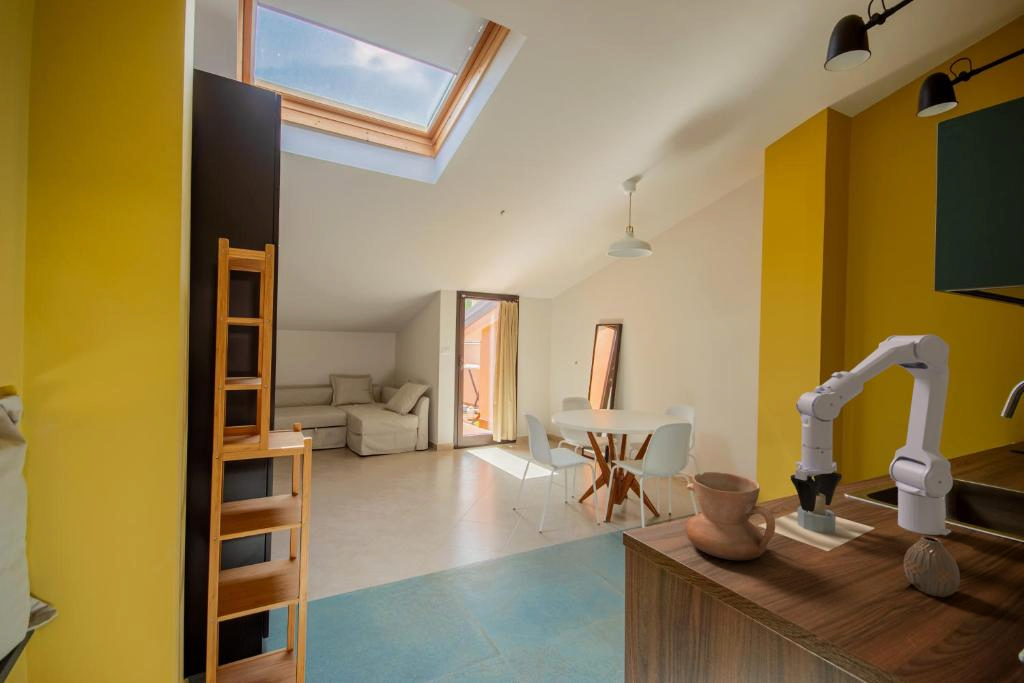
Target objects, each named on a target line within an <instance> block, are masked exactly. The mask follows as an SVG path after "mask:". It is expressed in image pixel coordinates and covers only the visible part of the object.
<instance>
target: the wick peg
mask: <svg viewBox="0 0 1024 683" xmlns="http://www.w3.org/2000/svg"><path fill="white" fill-rule="evenodd" d="M825 499H826V496H825V495H823V494H820V493H819V491H818V493H817V496H816V503H815V508H814V511H813V512H810V511H808V513H812V514H816V515H825V509H826V505H825Z"/></svg>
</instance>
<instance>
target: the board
mask: <svg viewBox="0 0 1024 683" xmlns="http://www.w3.org/2000/svg"><path fill="white" fill-rule="evenodd" d="M774 520H775V532H774V534H775V533H776V534H778V535H781V536H784V537H787V538H790V539H791V540H794V541H798V542H801V543H803V544H807V545H809V546H812V547H815V548H817V549H820V550H823V551H825V552H830V551H832V550H834V549H836V548H838V547H839V546H841V545H843V544H846V543H848V542H850V541H852V540H854V539H856V538H858V537H860V536H862V535H864V534H866V533H869V532H871V531H873V530H874V529H876V528H875V527H873V526H869V525H865V524H863V523H859V522H856V521H852V520H849V519H845V518H842V517H839V516H836V521H835V532H833V533H818V532H813V531H810V530H807V529H804V528H802V527H801V526H799V525H798V510H797V511H794V512H792V513H789V514H785V515H782V516H781V517H777V518H774ZM757 527H759V528H761V529H765V530H766V522H764V523H761V524H758V525H757Z"/></svg>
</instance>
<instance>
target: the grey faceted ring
mask: <svg viewBox="0 0 1024 683" xmlns="http://www.w3.org/2000/svg"><path fill="white" fill-rule="evenodd" d="M797 511H798V525H799V526H801V527H802V528H804V529H807V530H810V531H813V532H818V533H833V532H835V521H836V517H837V516H836V513H835V512H833V511H831V510H830V509H827V508H825V515H816V514H812V513H808V511H806V510H803V509H802V507H801V505H800V506H797Z"/></svg>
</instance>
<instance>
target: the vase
mask: <svg viewBox="0 0 1024 683" xmlns="http://www.w3.org/2000/svg"><path fill="white" fill-rule="evenodd" d="M903 569H904V574H905V576H906V577H907V580H908V581H909V582H910V584H911V585H912V586H913V587H914V588H915V589H916V588H917V590H918V591H919V592H921V593H924V594H926V595H928V596H932V597H936V596H938V598H946V596H947V597H949V596H951V595H953V594H954V593H956V591H957V590H958V588H959V585H960V582H961V581H960V579H961V578H960V577H961V574H960V570H959V567H958V564H957V562H956V560H955V559H954V557H953V556H952V555H951V554H950V552H948V550H947V549H946V548H945V546H944V545H943V543H942V541H941V540H940V539H939V538H936V537H933V536H928V535H927V536H926V535H922V536H921V537H920V539H919V540H918V541H917V542H916V543H914V544H913V545H911V546H910V547H908V549H907V551H906V553H905V554H904V557H903Z"/></svg>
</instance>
